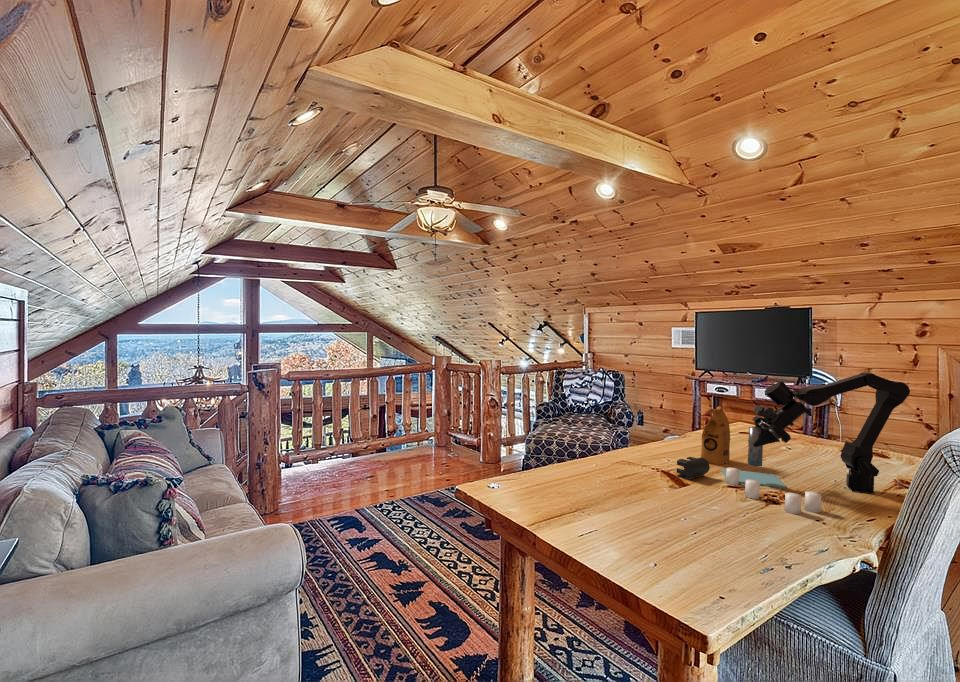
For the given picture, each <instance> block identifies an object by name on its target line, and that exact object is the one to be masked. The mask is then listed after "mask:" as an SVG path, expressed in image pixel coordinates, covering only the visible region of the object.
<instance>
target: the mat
mask: <svg viewBox="0 0 960 682" xmlns="http://www.w3.org/2000/svg"><path fill="white" fill-rule="evenodd" d="M720 472H721V473H722V474H723V476H724V478H725V479H726V468H721V469H720ZM748 479H749V480H756V481H759V482H760V486H761V485H763V487H771V486H772V487H771V488H779V489H780V488H781V489H787V488H788V487H787V485H786V484H785V483H784V481H782V480H781V479H780V478H779V477H778V476H777V475H776V474H775V473H765V472H757V471H756V472H755V471H748V470H747V471H745V470H739V484H744V485H745V481H746V480H748Z"/></svg>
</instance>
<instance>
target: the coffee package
mask: <svg viewBox="0 0 960 682" xmlns="http://www.w3.org/2000/svg"><path fill="white" fill-rule="evenodd" d="M709 413H711V414H712V415H711V417H710V418H709V422H708V423H706V424H705V427H704V428H703V430H702V434H701V451H700V452H701V454H700V458H701V457H702V458H704V459H706V460H707V461H708V463H709V464H712V465H716V466H723V465H724V464H728V463H729V461H730V454H731V453H730V444H731V430H730V428H731V427H730V421H729V419H728V417H727V415H726V413H725V412H724V409H723V407H722V406H720V405H719V406H717V407H716V408H711V409H710V410H709Z"/></svg>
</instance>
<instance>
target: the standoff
mask: <svg viewBox="0 0 960 682" xmlns="http://www.w3.org/2000/svg"><path fill="white" fill-rule="evenodd" d="M763 430H764V429H763V428H760V427H755V426H749V427H748V440H749V442H748V449H747V465H749V466H752V467H762V466H763V457H764V455H763V454H764V453H763V452H764V445H762V446H758V447H754V446H753V444H754V443H755V441H756V440H757V439H758V438H759V437H760V436H761V435H762V434H763Z"/></svg>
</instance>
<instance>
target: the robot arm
mask: <svg viewBox="0 0 960 682" xmlns="http://www.w3.org/2000/svg"><path fill="white" fill-rule="evenodd" d="M864 387H869V388H871V389H874V390H875V403H874V405H873V407H872V409H871V410H870V412H869V414H868V416H867V418H866V419H865V422H864V424H863V426H862V427H861V429H860V431H859V433H858V434H857V437H856V438H855V439H854V440H853V441H851V442H849V441H845V443H844V445H843V447H842V449H840V451H839V452H840V459H841V461H842V462H843V463H844V464H845V466H846V469H848V473H846V481H845V485H847V486H848V487H847V486H846V487H847V488H848V489H849V490H850V491H851V490H852V492H855V491H859V492H858V493H863V492H867V493H866V494H870V493H876V491H875V490H874V489H875V477H878V476H879V473H880V470H879V468H877V467H876V466H875V465H874V464H873V463H872V461H873V458H874V452H873V451H874V449H873V447H874V445H875V443H876V441H877V440H878V438H879V436H880V434H881V432H882V431H883V429H884V427H885V426H886V423H887V422H888V419H889V418H890V416H891V415H892V413H893V411H894V409H896V408H897V407H898V406H900V405H902V404H903V403H904V402H905V401H906V399H907V398H908V397H909V395H910V393H911V389H910V387H909V385H908V384H906V383H904V382H902V381H896V380H891V379H888V378H884V377H882V376H879V375H876V374H875V373H872V372H865V371H864V372H860V373H859V374H855V375H851V376H849V377H845V378H841V379H839V380H835V381H833V382H829V383H827V384H821V385H809V386H804V387H801V388H799V389H798V390H791V388H789V387H788V386H787V384H786V383H785V382H784V381H782V380H779V381H778V382H776V383H773V384H772V385H769V386H767V388H766V389H765V390H764V394H765V395H766V396H767V397H768V398H769V399H770V400H771V401H772V402H773V403H774V404H775V405H777V406H782V407H781V408H779V409H778V410H777V409H774V408H772V407H769V406H766V407H763V406H761V405H758V404H756V405H755V407H754V409H753V411H752V413H753V414H755V416H754V417H753V418H752V421H753V422H754V427H760V428H763V429H764V430H763V434H762V435H761V436H760V437H759V438H758V439H757V440H756V441H755V443H754V444H753V446H754V447H758V446H762V445H763V446H766V445H768V444H769V445H770V444H774V443H779V442H780V441H782V442H783V443H785V444H787V443H788V442H789V441H791V435H790V434H789V432H787V431H786V429H787V428H788V427H789V426H790V427H793V426H794V425H795V424H794V423H795V421H797V420H798V419H799V418H800V417H801V416H802V415H805V416H808V417H812V408H811V407H807V406H806V405H809V406H813V407H815V406H819V405H821V404H824V403H825V402H827V401H828V400H830V399H831V398H833V397H835V396H838V395H842V394H844V393H848V392H852V391H854V390H858V389H861V388H864ZM797 400H798V401H797ZM804 404H806V405H804ZM780 439H781V440H780ZM747 443H749V439H748V441H747Z"/></svg>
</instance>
